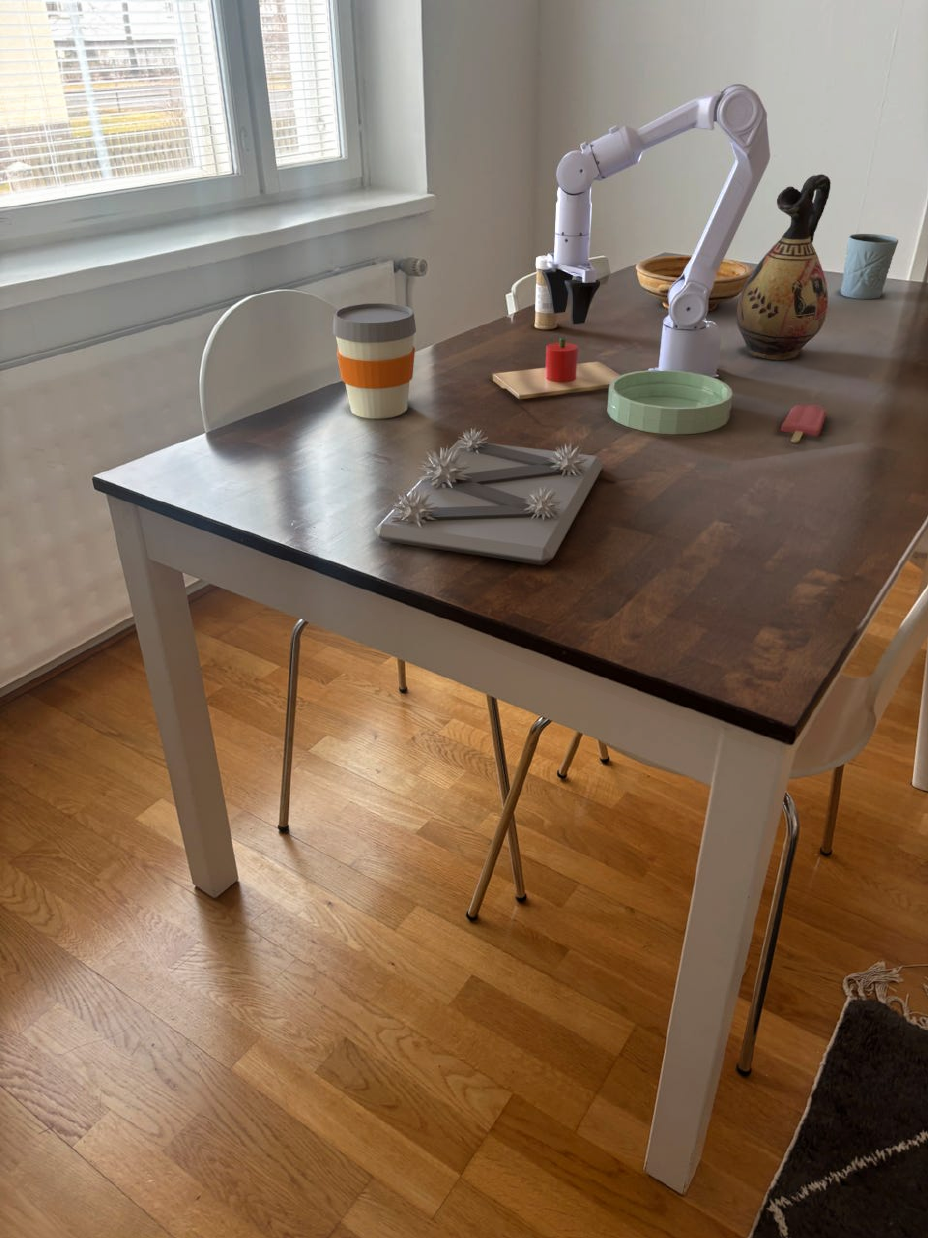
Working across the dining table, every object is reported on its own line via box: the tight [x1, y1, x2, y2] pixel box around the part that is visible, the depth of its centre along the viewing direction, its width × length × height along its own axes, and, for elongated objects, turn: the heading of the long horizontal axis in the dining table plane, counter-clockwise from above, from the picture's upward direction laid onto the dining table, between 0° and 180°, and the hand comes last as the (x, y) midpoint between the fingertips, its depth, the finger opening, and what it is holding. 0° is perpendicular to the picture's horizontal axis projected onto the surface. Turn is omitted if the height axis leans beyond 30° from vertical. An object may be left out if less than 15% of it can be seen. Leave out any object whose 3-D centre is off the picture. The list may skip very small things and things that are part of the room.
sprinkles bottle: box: [534, 255, 558, 331], centre depth 188 cm, size 5×5×13 cm
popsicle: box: [780, 404, 827, 444], centre depth 142 cm, size 5×2×15 cm
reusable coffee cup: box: [332, 302, 417, 420], centre depth 147 cm, size 13×13×15 cm
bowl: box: [606, 369, 734, 436], centre depth 146 cm, size 18×18×4 cm
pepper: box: [545, 337, 579, 382], centre depth 159 cm, size 5×5×7 cm
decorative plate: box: [373, 426, 605, 566], centre depth 119 cm, size 30×22×7 cm
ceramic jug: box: [736, 173, 832, 361], centre depth 168 cm, size 17×15×30 cm
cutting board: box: [492, 361, 622, 400], centre depth 161 cm, size 20×12×1 cm, turn 109°
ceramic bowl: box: [635, 255, 754, 312], centre depth 204 cm, size 30×24×8 cm
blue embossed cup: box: [840, 233, 899, 300], centre depth 210 cm, size 10×10×12 cm
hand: (568, 317), depth 163 cm, fingers open, 7 cm apart
